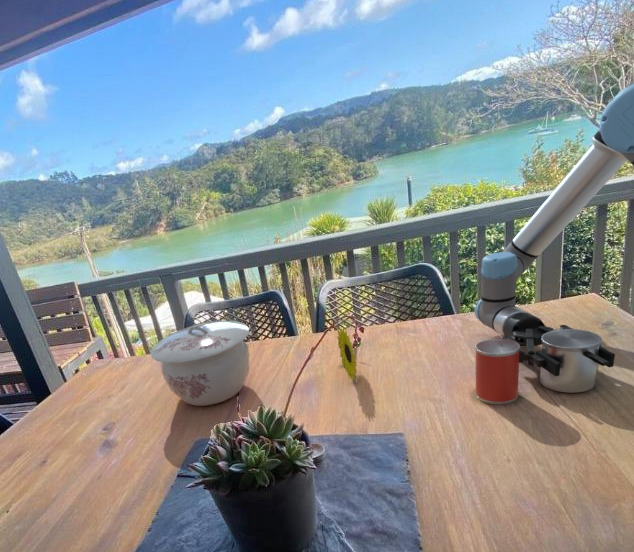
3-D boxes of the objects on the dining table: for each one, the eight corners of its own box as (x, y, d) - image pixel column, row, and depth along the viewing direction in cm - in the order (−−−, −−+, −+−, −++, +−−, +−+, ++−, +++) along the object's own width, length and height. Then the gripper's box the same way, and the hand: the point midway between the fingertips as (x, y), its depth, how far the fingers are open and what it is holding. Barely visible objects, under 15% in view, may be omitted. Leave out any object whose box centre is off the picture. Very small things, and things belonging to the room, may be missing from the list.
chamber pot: (265, 407, 109) (248, 331, 102) (160, 428, 112) (136, 355, 104) (257, 363, 135) (244, 300, 127) (172, 381, 137) (154, 320, 130)
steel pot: (575, 368, 94) (579, 325, 91) (627, 400, 81) (635, 352, 77) (528, 376, 96) (531, 334, 92) (573, 408, 82) (578, 361, 79)
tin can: (505, 383, 95) (506, 335, 91) (526, 400, 88) (528, 349, 84) (469, 389, 96) (468, 342, 92) (486, 407, 89) (486, 357, 85)
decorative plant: (343, 322, 132) (315, 332, 106) (362, 317, 129) (338, 326, 103) (355, 369, 133) (330, 390, 106) (374, 365, 130) (354, 386, 104)
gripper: (565, 332, 105) (643, 372, 84) (471, 349, 108) (524, 391, 87) (568, 303, 102) (649, 337, 81) (471, 321, 105) (526, 358, 84)
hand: (584, 365), depth 84 cm, fingers closed on steel pot, 9 cm apart
